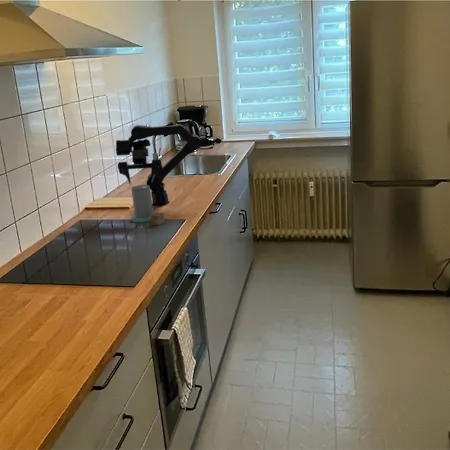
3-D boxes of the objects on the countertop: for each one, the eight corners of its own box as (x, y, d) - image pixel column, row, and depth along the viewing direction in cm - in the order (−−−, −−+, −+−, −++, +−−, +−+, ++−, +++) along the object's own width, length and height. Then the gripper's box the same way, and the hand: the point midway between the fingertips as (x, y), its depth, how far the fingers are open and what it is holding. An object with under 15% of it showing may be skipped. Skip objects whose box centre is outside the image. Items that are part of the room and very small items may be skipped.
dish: (126, 221, 214) (126, 218, 213) (141, 213, 223) (141, 211, 222) (148, 223, 209) (147, 220, 208) (162, 215, 218) (162, 212, 217)
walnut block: (150, 224, 207) (149, 215, 206) (156, 221, 210) (154, 212, 209) (159, 225, 205) (157, 215, 204) (164, 222, 209) (163, 212, 207)
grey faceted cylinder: (132, 217, 214) (127, 188, 210) (142, 212, 220) (138, 184, 216) (146, 218, 211) (142, 189, 207) (156, 213, 217) (152, 185, 213)
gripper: (115, 143, 218) (115, 174, 211) (159, 140, 219) (160, 171, 212) (119, 158, 228) (120, 188, 221) (161, 155, 229) (163, 185, 222)
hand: (140, 183), depth 219 cm, fingers open, 9 cm apart
